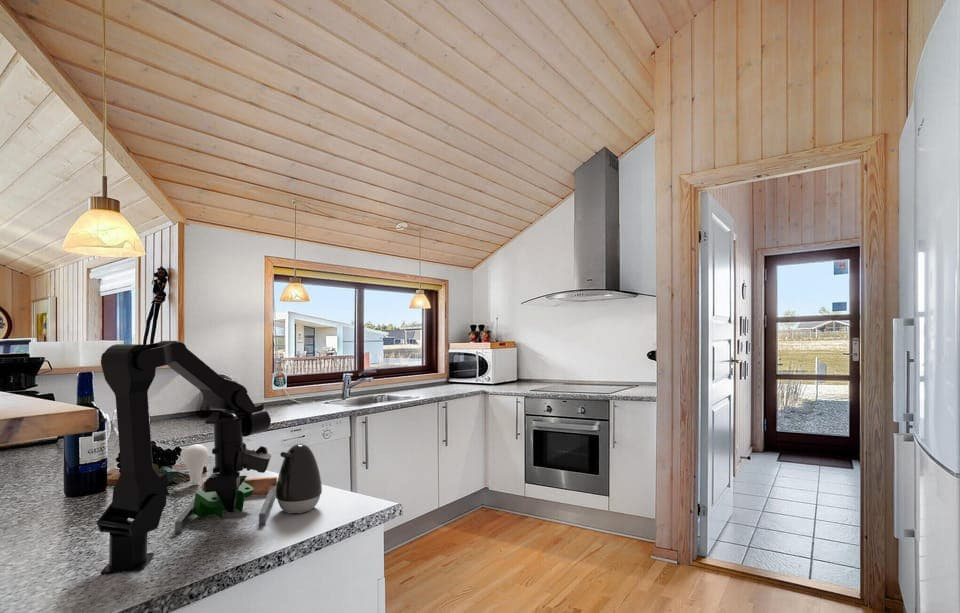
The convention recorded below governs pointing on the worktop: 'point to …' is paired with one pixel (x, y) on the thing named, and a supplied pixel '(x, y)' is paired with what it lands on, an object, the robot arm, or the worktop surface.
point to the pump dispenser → (298, 480)
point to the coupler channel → (259, 488)
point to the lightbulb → (195, 461)
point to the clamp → (218, 502)
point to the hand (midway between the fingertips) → (230, 512)
